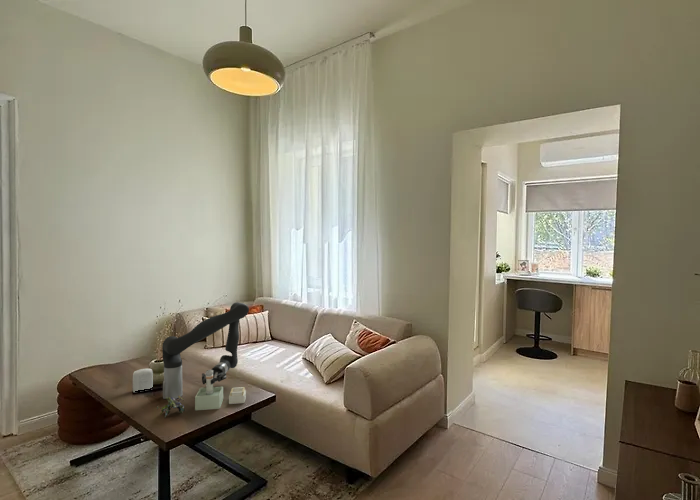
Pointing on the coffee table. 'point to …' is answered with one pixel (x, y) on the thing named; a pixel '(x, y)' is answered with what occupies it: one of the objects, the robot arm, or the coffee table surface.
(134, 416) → the coffee table surface
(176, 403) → the passion flower
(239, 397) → the fuse holder
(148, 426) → the coffee table surface
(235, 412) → the coffee table surface
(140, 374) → the photo printer
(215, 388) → the tray
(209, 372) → the fuse
